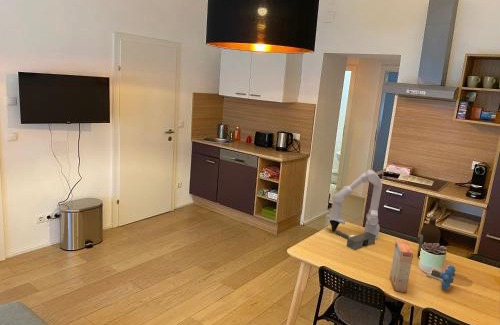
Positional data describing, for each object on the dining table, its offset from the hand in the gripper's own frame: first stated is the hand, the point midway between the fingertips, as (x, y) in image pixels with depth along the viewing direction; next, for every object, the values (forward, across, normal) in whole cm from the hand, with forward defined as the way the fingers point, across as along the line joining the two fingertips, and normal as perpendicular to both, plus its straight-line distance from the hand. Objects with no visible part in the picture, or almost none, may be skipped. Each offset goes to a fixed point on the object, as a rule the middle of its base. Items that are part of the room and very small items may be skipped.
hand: (333, 231), depth 251 cm
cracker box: (+1, +62, -24) cm, 66 cm away
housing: (+1, +22, 0) cm, 22 cm away
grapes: (+1, +76, -5) cm, 76 cm away
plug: (+1, +10, 0) cm, 10 cm away
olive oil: (+1, +53, +20) cm, 56 cm away
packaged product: (+2, +67, +8) cm, 67 cm away
